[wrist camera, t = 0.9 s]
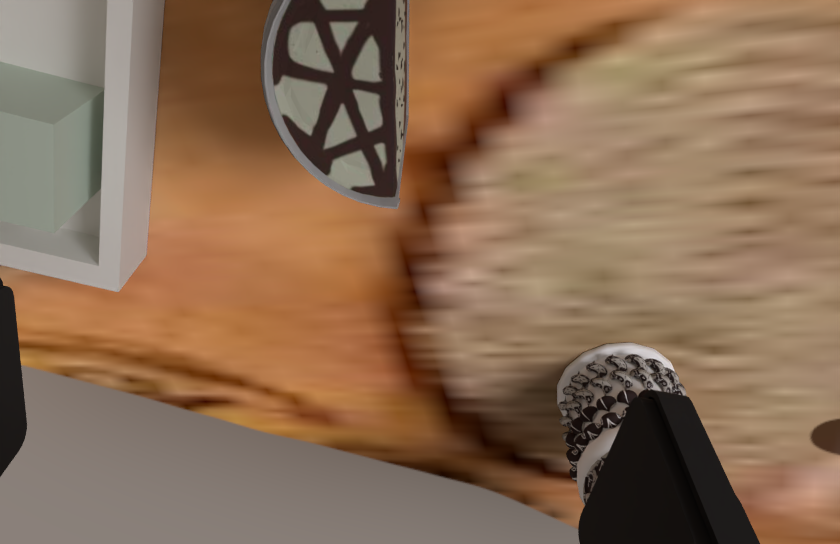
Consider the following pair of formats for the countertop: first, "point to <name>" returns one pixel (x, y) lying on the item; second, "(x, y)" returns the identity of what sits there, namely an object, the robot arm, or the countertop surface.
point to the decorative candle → (606, 401)
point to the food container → (341, 91)
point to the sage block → (47, 146)
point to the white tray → (122, 130)
